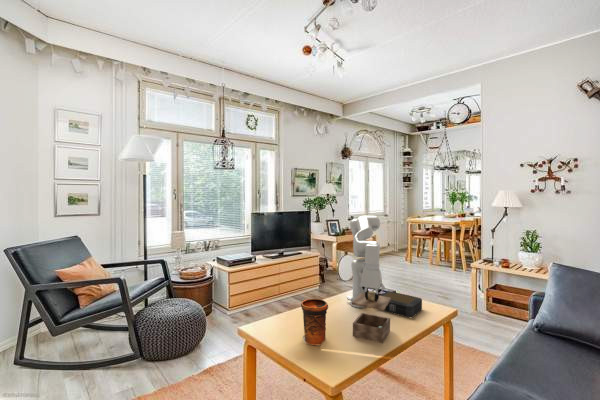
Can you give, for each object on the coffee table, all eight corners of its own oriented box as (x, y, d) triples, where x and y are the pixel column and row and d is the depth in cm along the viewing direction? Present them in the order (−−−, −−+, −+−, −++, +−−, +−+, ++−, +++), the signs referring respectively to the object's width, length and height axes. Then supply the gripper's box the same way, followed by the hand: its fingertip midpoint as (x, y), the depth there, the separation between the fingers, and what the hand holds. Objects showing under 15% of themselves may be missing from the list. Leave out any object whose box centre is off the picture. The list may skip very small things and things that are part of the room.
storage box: (352, 337, 164) (352, 323, 164) (362, 326, 178) (362, 312, 178) (382, 345, 156) (382, 329, 156) (389, 332, 170) (390, 318, 170)
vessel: (298, 345, 155) (299, 306, 155) (302, 333, 170) (302, 297, 170) (327, 348, 153) (327, 308, 153) (328, 335, 168) (328, 299, 168)
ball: (377, 332, 168) (377, 326, 168) (378, 330, 171) (378, 324, 171) (383, 333, 167) (383, 328, 167) (384, 331, 169) (384, 325, 169)
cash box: (374, 309, 205) (374, 297, 205) (387, 300, 220) (387, 290, 220) (411, 319, 189) (411, 306, 189) (422, 309, 204) (422, 298, 204)
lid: (351, 304, 164) (351, 294, 164) (361, 294, 179) (361, 285, 179) (383, 310, 156) (383, 300, 155) (391, 299, 171) (391, 290, 170)
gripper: (354, 266, 167) (354, 299, 168) (386, 270, 159) (385, 304, 160) (359, 263, 174) (359, 294, 175) (389, 267, 165) (389, 300, 166)
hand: (371, 299), depth 167 cm, fingers closed on lid, 4 cm apart
